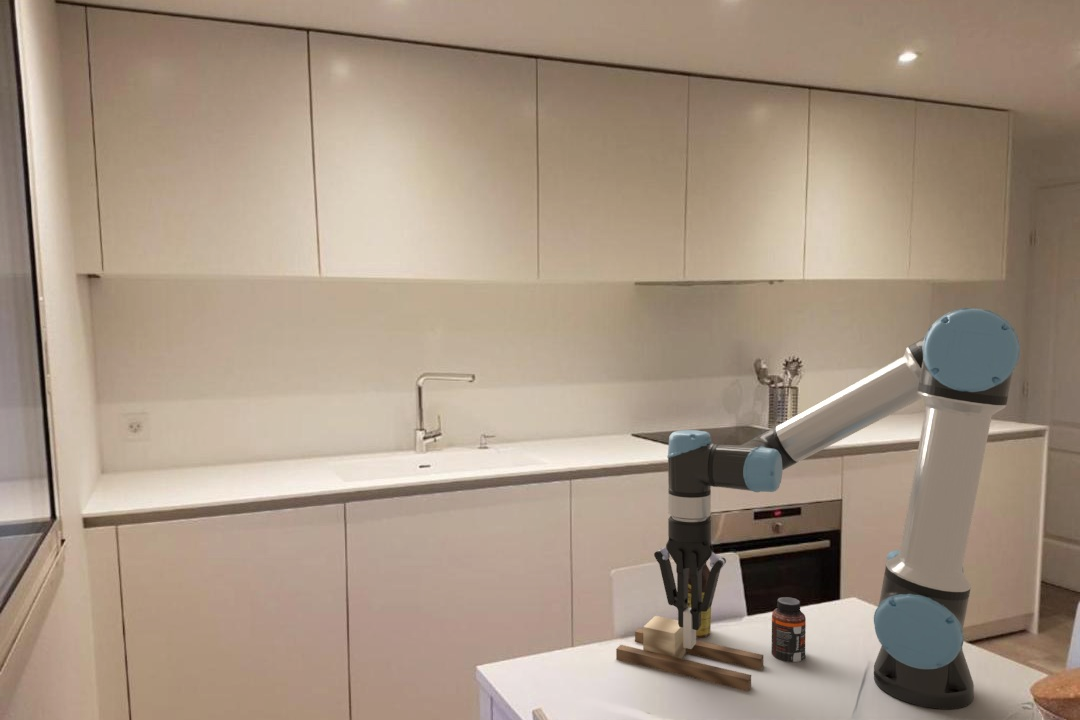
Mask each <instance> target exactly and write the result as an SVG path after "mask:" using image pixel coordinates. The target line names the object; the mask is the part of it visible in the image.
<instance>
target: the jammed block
mask: <svg viewBox="0 0 1080 720" xmlns="http://www.w3.org/2000/svg"><path fill="white" fill-rule="evenodd" d="M642 629H643V643H642V646H643V647H642V648H643V649H642V650H646V651H650V652H655V653H659V654H663V655H667V656H672V657H676V658H680V659H683V658H684V656H685V655H686V654H687V653H686V648H683V627H679V624H678V620H677V619H673V618H668V617H662V616H659V615H654V616H653V618H651V619H649V621H648V622H647V623H645V625H643V628H642Z"/></svg>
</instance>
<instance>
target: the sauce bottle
mask: <svg viewBox="0 0 1080 720" xmlns="http://www.w3.org/2000/svg"><path fill="white" fill-rule="evenodd" d="M710 570H711V569H709V566H708V565H707V562H706V563H705V564H704V566H703V570H702V601H703V597H704V593H705V589H706V585H707V581H708V577H709V573H710ZM688 603H689V604H688V605H687V608H688V607H691V575H690V569H688ZM711 619H712V606H711V607H710V608H709V609H708V610H707V611H705V612H704V611H701V627H700V628H699V629H698V630H696V639H704V638H706V637H708V636H710V633H711V625H712V624H711V623H712V621H711Z"/></svg>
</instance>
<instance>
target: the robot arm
mask: <svg viewBox="0 0 1080 720" xmlns="http://www.w3.org/2000/svg"><path fill="white" fill-rule="evenodd" d="M1020 353H1021V345H1020V340H1019V338H1018V334H1017V332H1016V331H1015V328H1013V326H1012V325H1011V323H1010V322H1009V321H1008V320H1006V318H1004V317H1003V316H1001V315H1000V314H998V313H996V312H993V311H991V310H988V309H982V308H979V307H975V308H973V307H972V308H970V307H969V308H967V307H963V308H958V309H955V310H952V311H950V312H947V313H945V314H944V315H942V316H940V317H939V318H937V320H936V321H934V322H933V324H931V327H929V329H928V330H927V333H926V334H925V336H924V337H922V338H921V339H919V340H917V341H916V342H914V343H911V344H910V345H908V346H907V347H906V349H905V352H904V354H903V356H901V357H900V358H897V359H895V360H894V361H892V362H890V363H889V364H886V365H885V366H883V367H880V368H879V369H878V370H876V371H874V372H872V373H871V374H868V375H867V376H865V377H863V378H861V379H859V380H858V381H856V382H854V383H852V384H851V385H848V386H847V387H845V388H843V389H841V390H840V391H837V392H836V393H834V394H832V395H831V396H829V397H827V398H825V399H823V400H822V401H820V402H817V403H816V404H815V405H812V406H811V407H809V408H807V409H805V410H803V411H802V412H800V413H798V414H796V415H793V417H791V418H789V419H787V420H785V421H783V422H781V423H780V424H778V425H776V426H775V427H773V428H770V429H769V430H768V431H765V432H764V433H761V434H759V435H757V436H755V437H754V438H752V439H750V440H748V441H746V442H745V443H743V444H741V445H733V444H731V445H729V444H720V443H719V444H718V443H713V442H712V439H711V434H710V432H708V431H705V430H698V429H697V430H696V429H686V430H685V429H683V430H682V429H681V430H675V431H673V432H672V433H671V434H670V435H669V437H668V449H667V456H666V457H667V473H668V475H667V476H668V480H667V482H668V493H667V494H668V498H667V499H668V503H667V504H668V505H667V511H668V512H667V513H668V514H669V517H668V518H667V519H668V521H667V523H668V525H667V526H668V527H667V528H668V533H667V535H668V538H667V539H668V540H667V542H666V544H665V547H662V548H659V549H657V550H656V551H655V552H654V553H653V555H654V558H655V560H656V561H657V563H658V565H659V570H660V573H661V578H662V582H663V585H664V586H663V587H664V590H665V595H666V600H667V603H668V605H670V606H674V607H675V608H676V609H677V611H678V613H677V615H678V616H677V619H678V624H679V627H683V648H688V649H692V648H693V647H694V645H695V644H696V640H697V638H696V630H698V629H699V628H700V627H701V611H704V612H705V611H707V610H708V609H709V608H710V607H711V608H712V604H713V602H714V601H713V600H714V598H715V593H716V588H717V585H718V580H719V577H720V572H721V570H722V568H723V567H724V566H725V565H726V563H727V560H726V558H725V557H720V556H719V555H717V554H716V553H715V552H714V547H713V545H712V542H711V541H712V531H711V530H712V527H711V526H712V523H711V521H712V520H711V519H710V518H709V517H710V516H711V511H712V510H711V508H712V506H711V503H712V502H711V501H712V499H711V497H712V491H711V490H712V489H711V488H712V487H713V488H725V489H733V490H742V491H750V492H754V493H762V492H763V493H764V492H767V493H774V492H776V491H778V490H779V488H780V485H781V484H782V478H783V471H784V470H786V469H789V467H792V466H793V465H795V464H798V463H799V462H801V461H803V460H805V459H806V458H810V457H811V456H813V455H815V454H817V453H819V452H820V451H822V450H824V449H826V448H828V447H830V446H832V445H834V444H836V443H838V442H840V441H842V440H844V439H846V438H848V437H850V436H852V435H854V434H855V433H858V432H859V431H861V430H863V429H865V428H868V427H869V426H871V425H873V424H876V423H877V422H879V421H882V419H885V418H887V417H888V416H890V415H891V416H892V414H894V413H896V412H899V411H900V410H902V409H904V408H906V407H908V406H911V405H912V404H914V403H916V402H918V401H920V400H922V401H923V402H924V404H925V410H924V416H923V422H922V426H921V431H920V433H921V434H920V438H919V443H918V448H917V454H916V459H915V464H914V471H913V476H912V480H911V481H912V482H911V485H910V486H911V487H910V492H909V497H908V505H907V507H906V508H907V510H906V514H905V520H904V525H903V531H902V535H901V536H902V537H901V541H900V546H899V549H898V550H897V549H895V550H891V551H890V552H889V553H887V556H886V563H885V564H884V565H885V570H884V576H883V579H882V585H881V590H880V596H879V600H878V605H877V607H876V609H875V611H874V614H873V625H874V631H875V635H876V638H877V640H878V642H879V644H880V645H881V647H880V649H879V652H878V653H877V657H876V660H875V662H874V666H873V679H874V682H875V684H876V685H877V686H878V688H880V689H881V690H882V691H884V692H885V693H886V694H888V695H890V696H891V697H894V698H896V699H898V700H901V701H903V702H905V703H909V704H913V705H917V706H920V707H924V708H931V709H938V710H939V709H943V710H952V709H960V708H963V707H967V706H969V705H970V704H972V702H973V701H974V695H975V694H974V693H975V690H974V689H975V685H974V681H973V677H972V674H971V672H970V668H969V665H968V663H967V660H966V657H965V656H966V655H965V653H964V651H963V650H964V649H963V644H964V642H965V637H964V631H963V630H964V625H965V619H966V614H967V609H968V605H969V599H970V595H971V594H970V592H971V588H972V583H971V581H970V580H969V579H968V577H966V575H965V573H964V572H965V571H964V562H965V557H966V551H967V546H968V542H969V541H968V540H969V536H970V532H971V531H970V530H971V525H972V520H973V519H972V518H973V515H974V510H975V505H976V500H977V496H978V495H977V494H978V489H979V485H980V480H981V474H982V469H983V463H984V457H985V453H986V449H987V448H986V447H987V442H988V437H989V432H990V427H991V422H992V416H994V415H995V414H996V413H998V412H1000V411H1002V410H1003V409H1005V408H1006V407H1007V405H1008V404H1007V403H1008V398H1009V393H1010V387H1011V384H1012V379H1013V373H1014V370H1015V369H1016V368H1015V367H1017V365H1018V362H1019V359H1020ZM670 557H671V559H672V560H673V562H674V563H675V567H676V570H675V571H676V572H675V573H676V574H677V576H676V577H677V579H676V580H677V581H676V582H677V583H676V582H675V577H674V572H673V567H672V563H671V560H670ZM708 561H710V562H709V566H710V567H711V569H709V570H710V573H709V577H708V581H707V585H706V589H705V593H704V597H703V601H702V570H703V566H704V564H705V563H706V564H707V562H708ZM688 569H690V575H691V607H688V608H687V605H688V604H689V603H688ZM676 584H677V585H676Z"/></svg>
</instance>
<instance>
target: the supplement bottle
mask: <svg viewBox="0 0 1080 720" xmlns="http://www.w3.org/2000/svg"><path fill="white" fill-rule="evenodd" d="M776 606H777V607H776V608H775V609H774V610H773V611H772V614H771V655H772V656H773V657H774V658H775V659H777V660H780V661H783V662H788V663H799V662H803V661H804V660H805V658H806V629H807V628H806V627H807V625H806V623H807V622H806V615H805V614H804V612H803V611H802V610H801V601H800V600H799V599H797V598H793V597H788V596H787V597H786V596H785V597H784V596H783V597H778V599H777V603H776Z"/></svg>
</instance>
